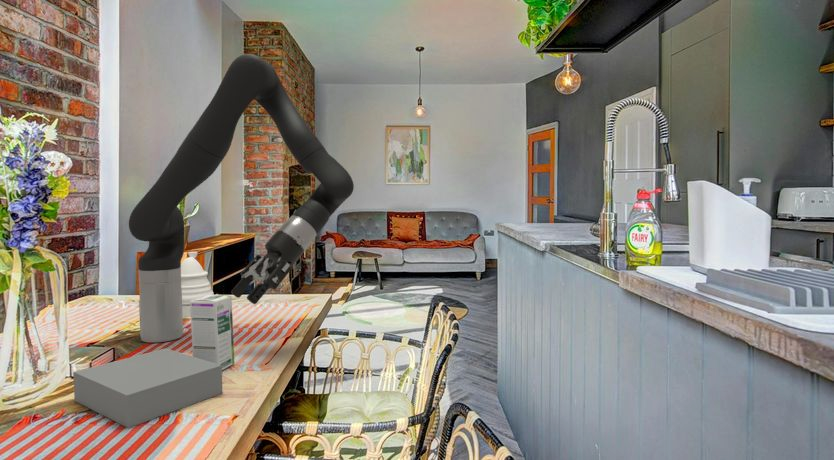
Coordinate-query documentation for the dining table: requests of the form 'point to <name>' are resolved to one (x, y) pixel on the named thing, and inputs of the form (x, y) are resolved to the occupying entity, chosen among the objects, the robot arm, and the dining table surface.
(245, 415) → the dining table surface
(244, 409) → the dining table surface
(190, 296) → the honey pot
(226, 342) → the syrup box
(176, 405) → the block
